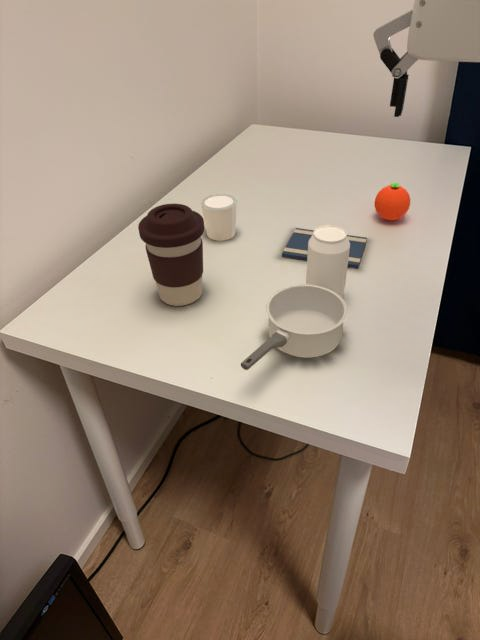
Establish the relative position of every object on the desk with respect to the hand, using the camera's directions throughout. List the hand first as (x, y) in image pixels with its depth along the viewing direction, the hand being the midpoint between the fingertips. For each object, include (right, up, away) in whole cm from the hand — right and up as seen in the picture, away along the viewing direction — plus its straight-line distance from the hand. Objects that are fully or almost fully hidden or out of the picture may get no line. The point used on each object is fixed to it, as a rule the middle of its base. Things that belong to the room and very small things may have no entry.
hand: (442, 116), depth 55 cm
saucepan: (-16, -28, +15) cm, 35 cm away
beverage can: (-9, -19, +25) cm, 33 cm away
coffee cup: (-33, -19, +27) cm, 47 cm away
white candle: (-27, -6, +43) cm, 50 cm away
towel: (-7, -10, +36) cm, 38 cm away
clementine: (+8, -2, +45) cm, 46 cm away
